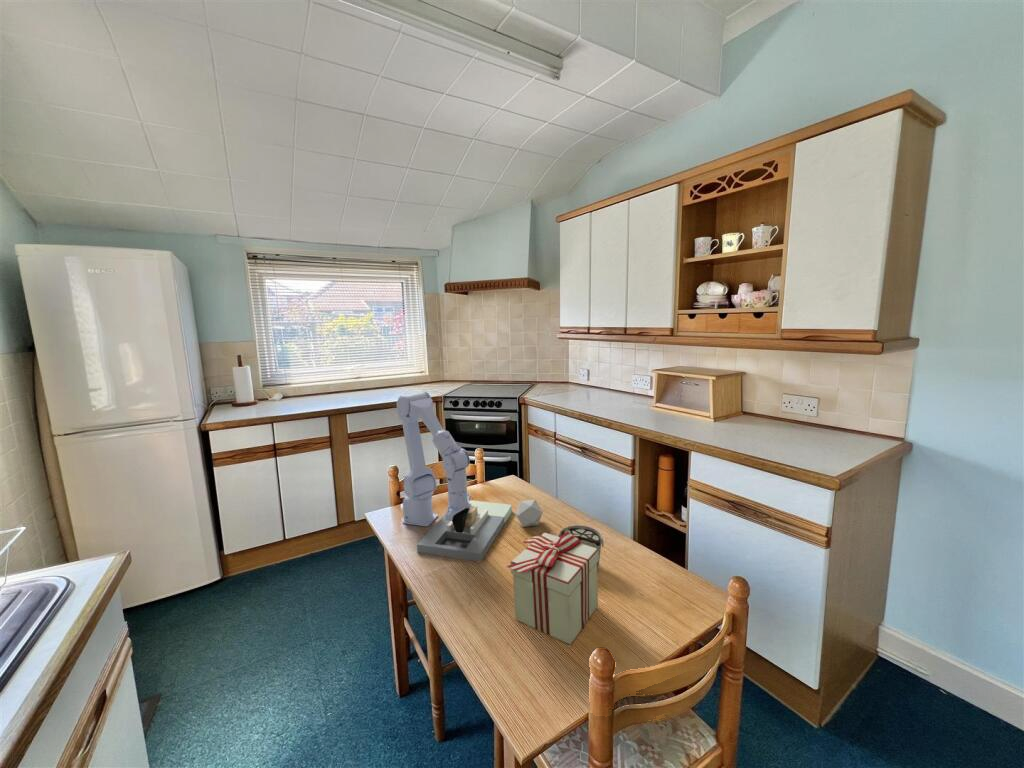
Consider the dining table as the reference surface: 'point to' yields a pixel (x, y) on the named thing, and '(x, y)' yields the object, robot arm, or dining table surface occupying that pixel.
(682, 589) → the dining table surface
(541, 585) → the gift box
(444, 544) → the trap deck
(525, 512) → the die
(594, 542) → the dark grey curved piece
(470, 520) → the maple block
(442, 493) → the dining table surface
